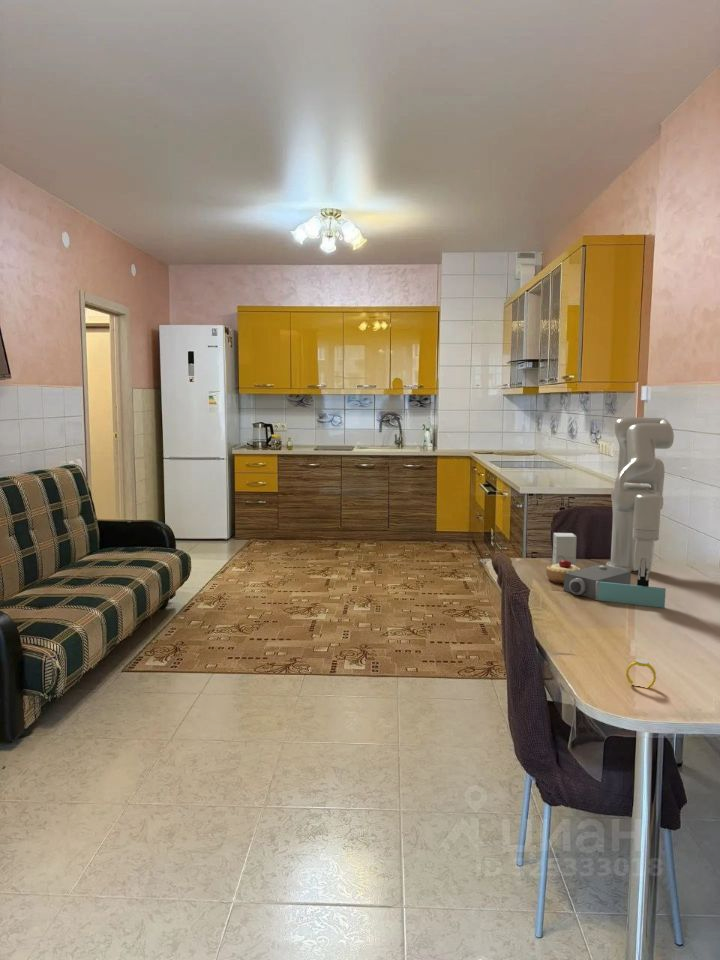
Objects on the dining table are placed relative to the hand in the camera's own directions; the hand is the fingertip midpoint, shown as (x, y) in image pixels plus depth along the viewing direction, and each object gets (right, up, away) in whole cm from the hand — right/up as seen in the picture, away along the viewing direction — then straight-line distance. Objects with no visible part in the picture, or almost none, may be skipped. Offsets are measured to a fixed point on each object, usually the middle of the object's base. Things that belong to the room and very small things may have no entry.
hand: (642, 591), depth 215 cm
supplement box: (-11, +2, +47) cm, 48 cm away
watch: (-26, -11, -63) cm, 69 cm away
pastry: (-17, -1, +27) cm, 32 cm away
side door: (-4, -3, -1) cm, 6 cm away
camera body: (-10, -2, +14) cm, 18 cm away
